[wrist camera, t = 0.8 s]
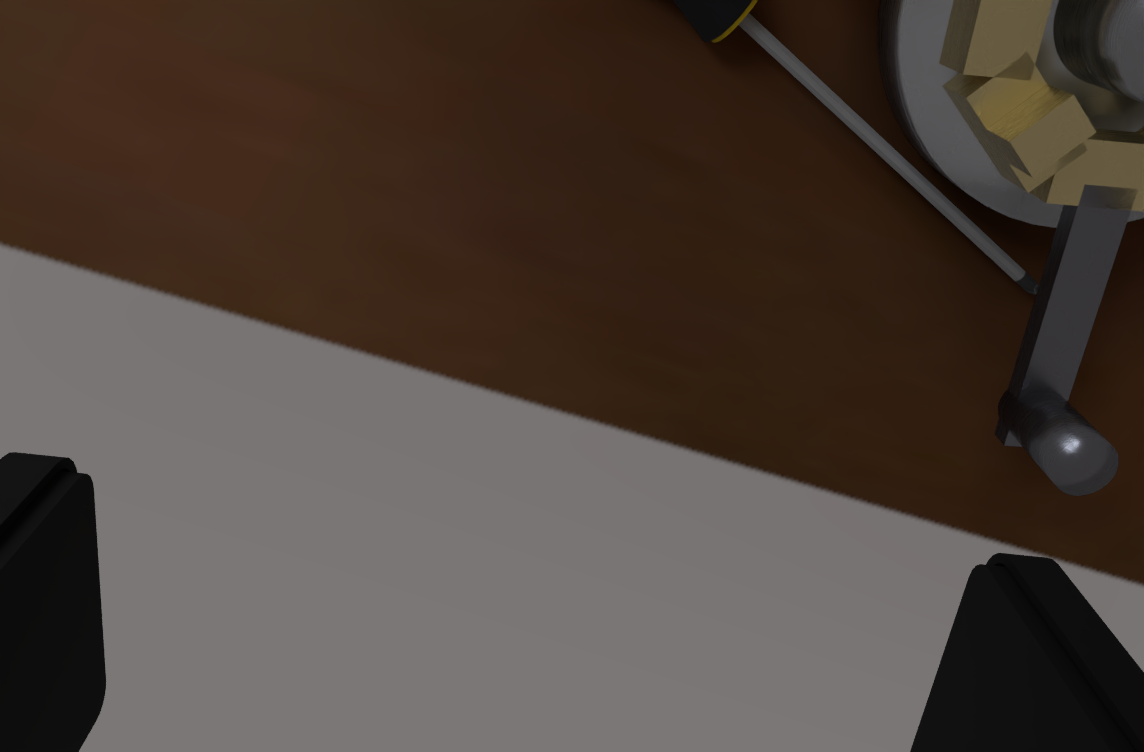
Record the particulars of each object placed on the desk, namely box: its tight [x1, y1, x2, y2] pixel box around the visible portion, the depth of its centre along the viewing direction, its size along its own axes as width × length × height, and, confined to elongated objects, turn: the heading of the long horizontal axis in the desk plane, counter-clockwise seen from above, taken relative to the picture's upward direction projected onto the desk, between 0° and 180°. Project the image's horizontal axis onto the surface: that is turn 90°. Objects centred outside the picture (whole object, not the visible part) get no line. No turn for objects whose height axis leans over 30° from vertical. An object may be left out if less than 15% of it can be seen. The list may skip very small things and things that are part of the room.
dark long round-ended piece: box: [939, 0, 1144, 496], centre depth 36 cm, size 23×13×6 cm, turn 175°
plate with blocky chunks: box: [877, 0, 1144, 228], centre depth 36 cm, size 16×18×8 cm
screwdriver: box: [673, 0, 1039, 295], centre depth 40 cm, size 3×3×30 cm
